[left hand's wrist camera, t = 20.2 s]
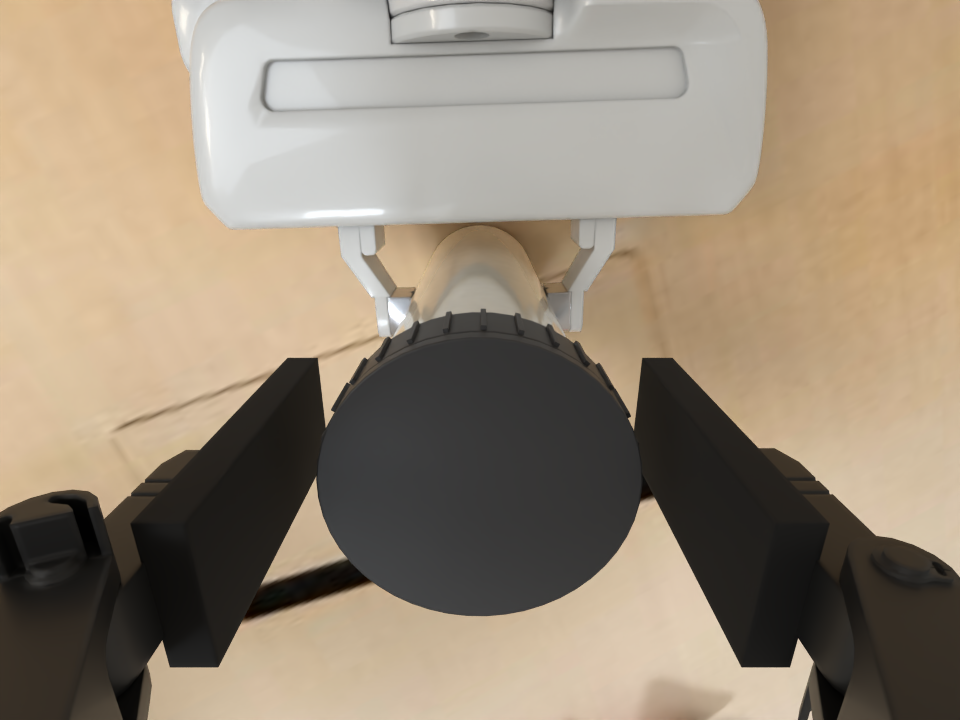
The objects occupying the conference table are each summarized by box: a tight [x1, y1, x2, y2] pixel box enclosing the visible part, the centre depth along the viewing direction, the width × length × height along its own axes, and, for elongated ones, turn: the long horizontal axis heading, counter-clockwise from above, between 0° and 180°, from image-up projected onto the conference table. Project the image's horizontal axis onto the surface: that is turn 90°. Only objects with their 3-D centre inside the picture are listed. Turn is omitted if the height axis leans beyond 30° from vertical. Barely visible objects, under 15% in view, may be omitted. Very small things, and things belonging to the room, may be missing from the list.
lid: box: [316, 309, 642, 616], centre depth 11 cm, size 6×6×2 cm
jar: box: [393, 225, 567, 338], centre depth 20 cm, size 6×6×19 cm
